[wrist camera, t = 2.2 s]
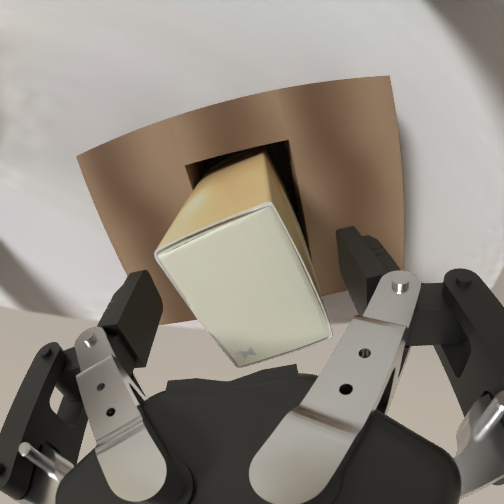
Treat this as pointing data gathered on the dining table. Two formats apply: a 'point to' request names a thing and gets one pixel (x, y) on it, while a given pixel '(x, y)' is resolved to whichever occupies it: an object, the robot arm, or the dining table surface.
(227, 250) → the skincare box
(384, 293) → the robot arm
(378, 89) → the walnut holder block
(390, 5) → the dining table surface
